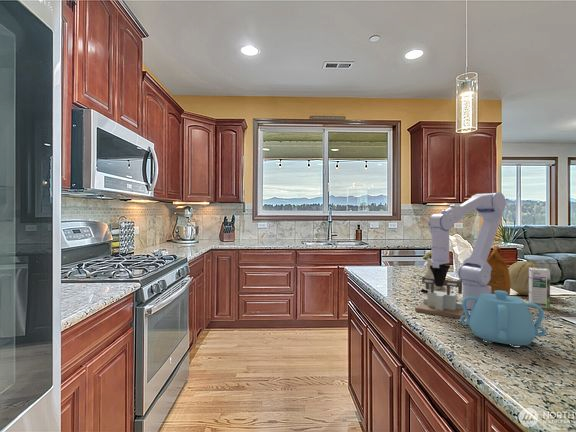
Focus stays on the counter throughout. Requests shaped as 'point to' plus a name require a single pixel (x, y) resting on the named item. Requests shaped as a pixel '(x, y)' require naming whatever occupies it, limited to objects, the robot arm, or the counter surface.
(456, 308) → the tan board with cubes
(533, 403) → the counter surface
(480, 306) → the decorative pot
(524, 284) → the cantaloupe
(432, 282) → the bracket with white balls
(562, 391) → the counter surface
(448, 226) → the robot arm
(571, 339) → the counter surface
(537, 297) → the syrup box
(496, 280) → the coffee package
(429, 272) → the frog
